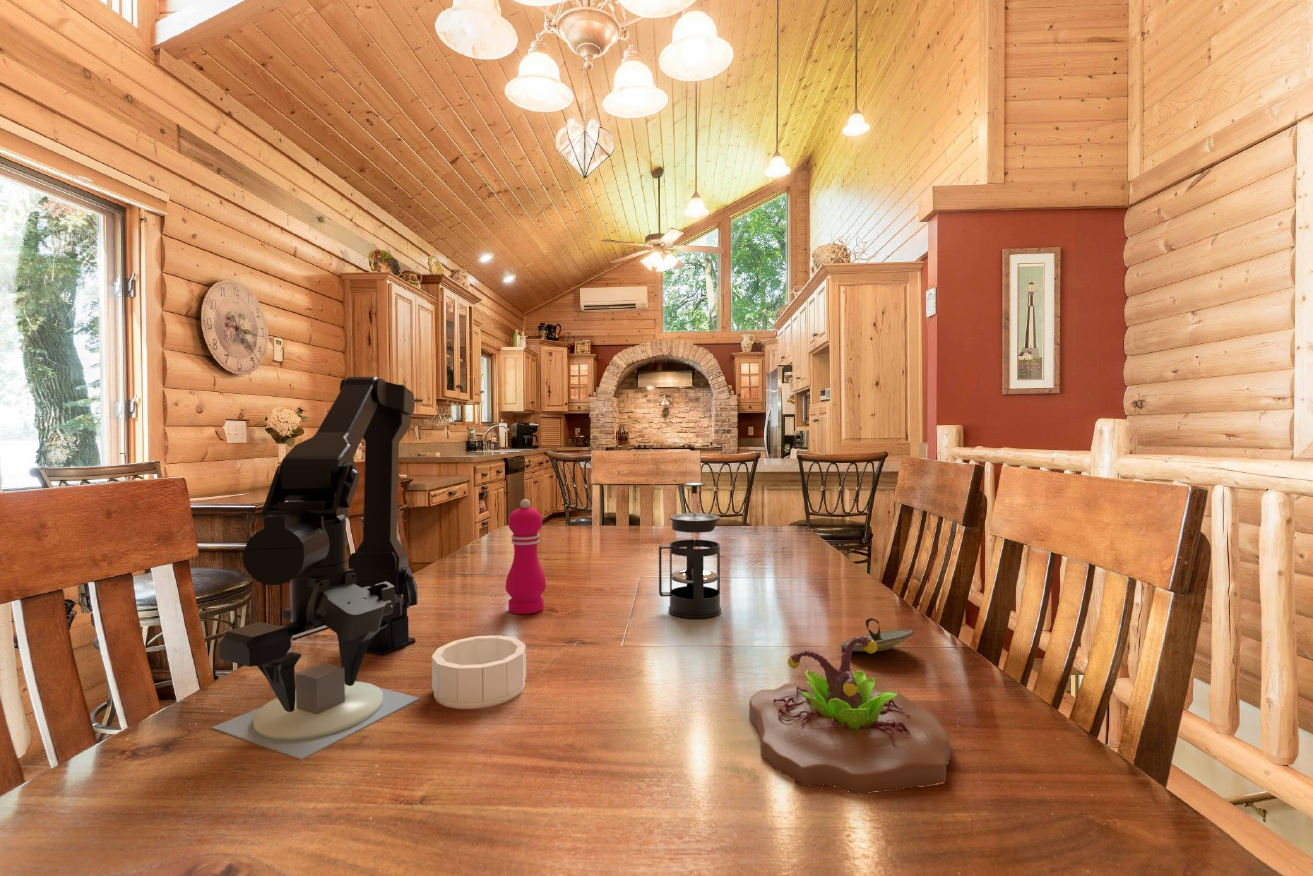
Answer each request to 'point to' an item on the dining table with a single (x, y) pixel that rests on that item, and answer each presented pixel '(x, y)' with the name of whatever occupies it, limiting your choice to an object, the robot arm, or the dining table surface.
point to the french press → (693, 566)
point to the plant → (848, 731)
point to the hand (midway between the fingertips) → (320, 697)
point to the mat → (304, 748)
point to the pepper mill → (525, 562)
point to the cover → (319, 706)
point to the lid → (882, 638)
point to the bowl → (478, 671)
